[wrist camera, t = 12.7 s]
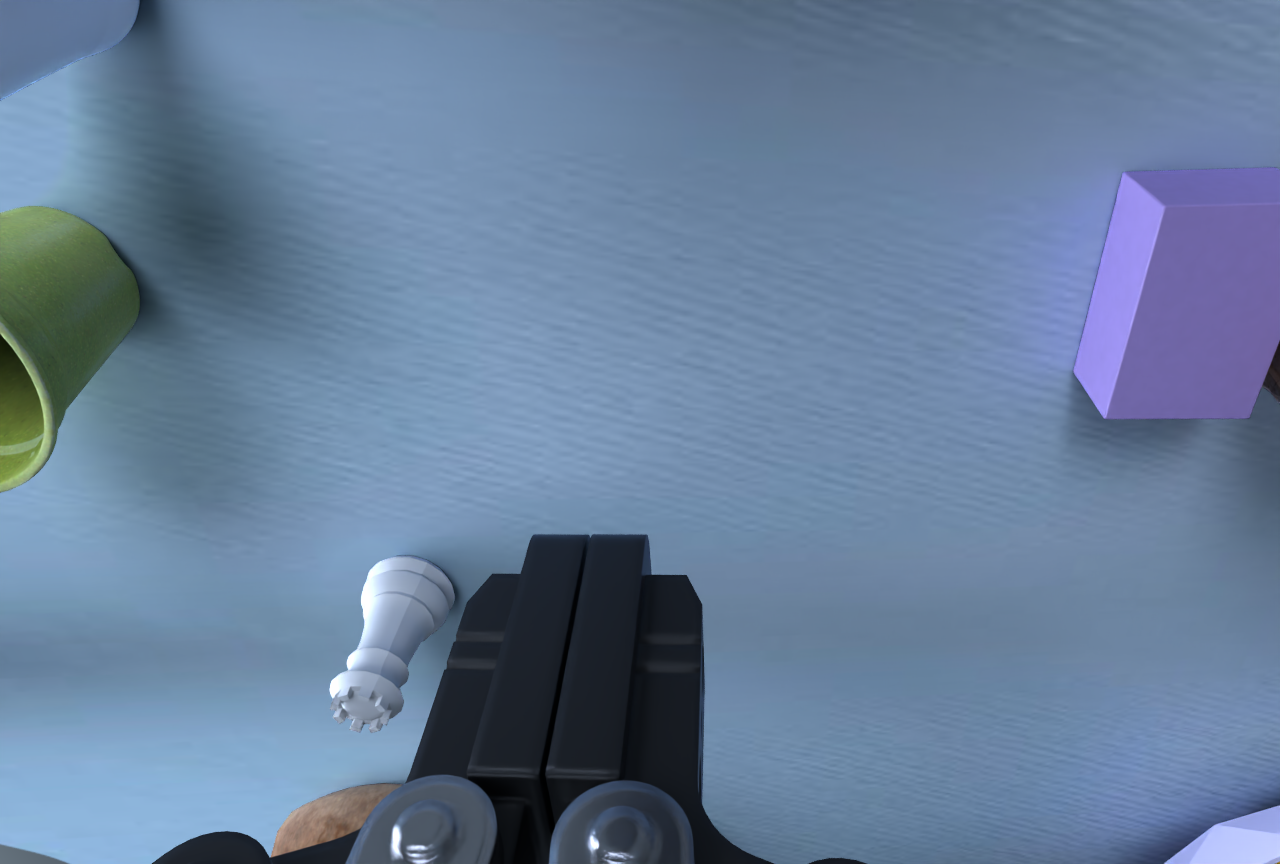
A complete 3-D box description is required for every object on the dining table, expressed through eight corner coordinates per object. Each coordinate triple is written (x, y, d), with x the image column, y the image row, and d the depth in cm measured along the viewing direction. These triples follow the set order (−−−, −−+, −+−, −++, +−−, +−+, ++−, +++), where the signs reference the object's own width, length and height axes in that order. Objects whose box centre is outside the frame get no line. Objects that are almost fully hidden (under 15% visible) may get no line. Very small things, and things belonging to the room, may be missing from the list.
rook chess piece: (388, 536, 43) (327, 664, 36) (471, 575, 44) (426, 706, 37) (356, 591, 45) (293, 721, 38) (436, 627, 46) (388, 760, 39)
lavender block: (1122, 171, 30) (1164, 205, 28) (1276, 166, 30) (1335, 201, 27) (1072, 372, 35) (1103, 420, 32) (1205, 370, 34) (1250, 419, 32)
